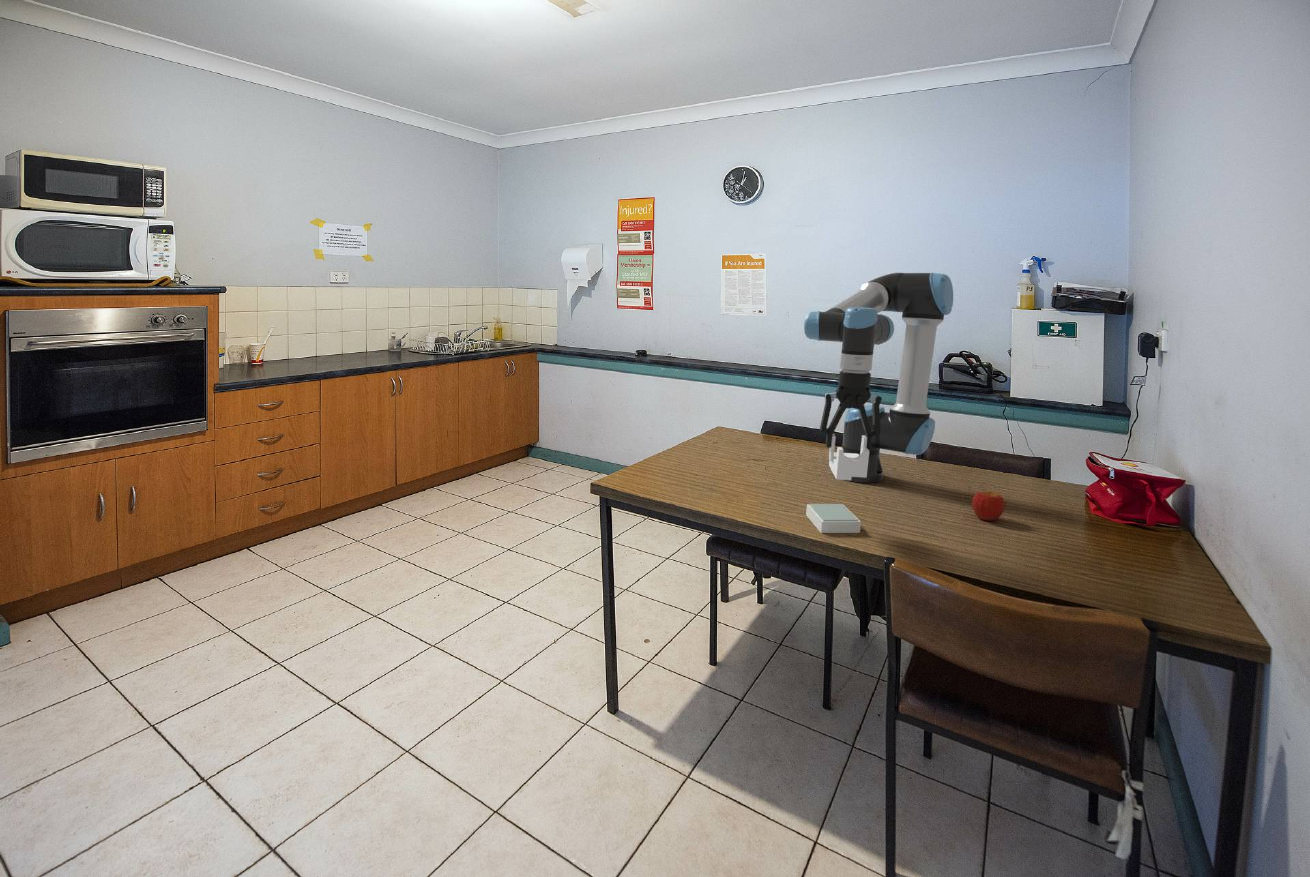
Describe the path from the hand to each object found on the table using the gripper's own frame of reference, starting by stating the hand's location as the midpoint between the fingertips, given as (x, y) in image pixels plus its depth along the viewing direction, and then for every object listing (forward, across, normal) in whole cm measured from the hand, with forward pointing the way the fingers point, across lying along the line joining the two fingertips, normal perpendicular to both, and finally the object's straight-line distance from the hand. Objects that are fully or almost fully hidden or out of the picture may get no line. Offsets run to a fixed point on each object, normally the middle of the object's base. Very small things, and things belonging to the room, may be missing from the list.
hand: (846, 460), depth 168 cm
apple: (+17, +41, +11) cm, 46 cm away
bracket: (+3, 0, -2) cm, 4 cm away
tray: (+17, -2, 0) cm, 17 cm away
